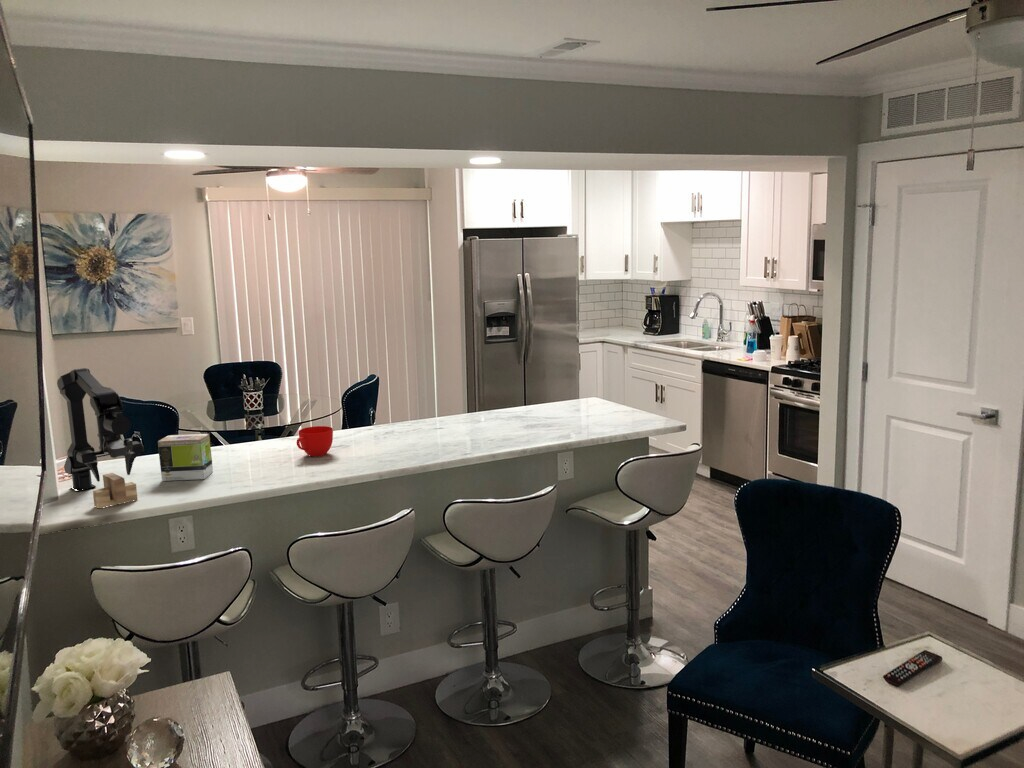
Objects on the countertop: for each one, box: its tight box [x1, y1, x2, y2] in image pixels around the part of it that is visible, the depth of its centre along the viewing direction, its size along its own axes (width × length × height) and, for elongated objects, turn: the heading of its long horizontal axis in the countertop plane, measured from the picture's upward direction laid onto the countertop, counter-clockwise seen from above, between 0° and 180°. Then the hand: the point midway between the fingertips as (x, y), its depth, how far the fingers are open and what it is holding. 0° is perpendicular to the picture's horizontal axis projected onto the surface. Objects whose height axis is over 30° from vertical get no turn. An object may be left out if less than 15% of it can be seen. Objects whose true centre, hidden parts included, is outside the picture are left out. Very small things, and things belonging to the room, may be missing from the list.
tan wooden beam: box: [102, 472, 127, 502], centre depth 257 cm, size 10×3×7 cm, turn 46°
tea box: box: [157, 433, 214, 482], centre depth 286 cm, size 15×10×15 cm
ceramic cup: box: [296, 425, 334, 457], centre depth 311 cm, size 13×17×10 cm
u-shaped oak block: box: [92, 481, 139, 509], centre depth 258 cm, size 4×12×6 cm, turn 136°
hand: (113, 478), depth 257 cm, fingers open, 9 cm apart
